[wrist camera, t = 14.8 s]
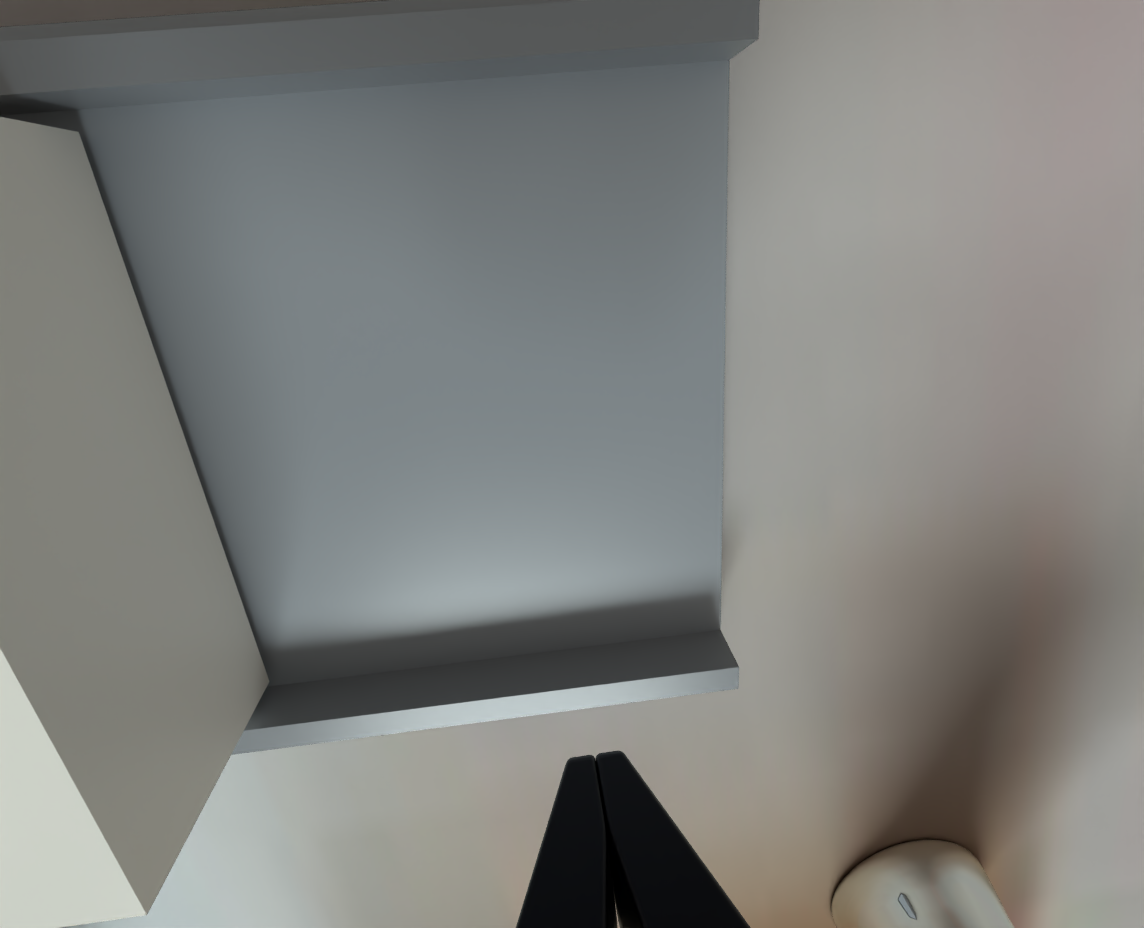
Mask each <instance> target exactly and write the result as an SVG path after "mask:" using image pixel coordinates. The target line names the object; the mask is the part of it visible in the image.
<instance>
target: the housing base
mask: <svg viewBox="0 0 1144 928" xmlns="http://www.w3.org/2000/svg"><path fill="white" fill-rule="evenodd" d="M759 1H760V0H385V1H370V2H356V3H341V4H327V5H312V6H298V7H283V8H268V9H254V10H239V11H225V12H210V13H196V14H181V15H167V16H152V17H138V18H123V19H109V20H94V21H80V22H65V23H51V24H36V25H22V26H7V27H0V117H4V118H9V119H14V120H20V121H25V122H30V123H35V124H40V125H45V126H50V127H56V128H61V129H66V130H71V131H76V132H79V134H80V137H81V140H82V143H83V146H84V149H85V152H86V155H87V157H88V160H89V163H90V166H91V169H92V172H93V175H94V178H95V181H96V183H97V186H98V189H99V192H100V195H101V198H102V201H103V204H104V206H105V209H106V212H107V215H108V218H109V221H110V224H111V227H112V229H113V232H114V235H115V238H116V241H117V244H118V247H119V250H120V253H121V255H122V258H123V261H124V264H125V267H126V270H127V273H128V276H129V278H130V281H131V284H132V287H133V290H134V293H135V296H136V299H137V301H138V304H139V307H140V310H141V313H142V316H143V319H144V322H145V325H146V327H147V330H148V333H149V336H150V339H151V342H152V345H153V348H154V350H155V353H156V356H157V359H158V362H159V365H160V368H161V371H162V373H163V376H164V379H165V382H166V385H167V388H168V391H169V394H170V397H171V399H172V402H173V405H174V408H175V411H176V414H177V417H178V420H179V422H180V425H181V428H182V431H183V434H184V437H185V440H186V443H187V445H188V448H189V451H190V454H191V457H192V460H193V463H194V466H195V469H196V471H197V474H198V477H199V480H200V483H201V486H202V489H203V492H204V494H205V497H206V500H207V503H208V506H209V509H210V512H211V515H212V517H213V520H214V523H215V526H216V529H217V532H218V535H219V538H220V541H221V543H222V546H223V549H224V552H225V555H226V558H227V561H228V564H229V566H230V569H231V572H232V575H233V578H234V581H235V584H236V587H237V589H238V592H239V595H240V598H241V601H242V604H243V607H244V610H245V613H246V615H247V618H248V621H249V624H250V627H251V630H252V633H253V636H254V638H255V641H256V644H257V647H258V650H259V653H260V656H261V659H262V661H263V664H264V667H265V670H266V673H267V676H268V679H269V683H268V685H267V687H266V689H265V691H264V693H263V695H262V697H261V699H260V701H259V702H258V704H257V706H256V708H255V710H254V712H253V714H252V716H251V718H250V720H249V721H248V723H247V725H246V727H245V729H244V731H243V733H242V735H241V737H240V739H239V741H238V742H237V744H236V746H235V748H234V750H233V752H232V754H231V755H233V754H241V753H249V752H256V751H264V750H272V749H279V748H287V747H295V746H302V745H310V744H318V743H325V742H333V741H341V740H348V739H356V738H363V737H371V736H379V735H386V734H394V733H402V732H409V731H417V730H425V729H432V728H440V727H448V726H455V725H463V724H471V723H478V722H486V721H494V720H501V719H509V718H517V717H524V716H532V715H540V714H547V713H555V712H563V711H570V710H578V709H586V708H593V707H601V706H609V705H616V704H624V703H632V702H639V701H647V700H655V699H662V698H670V697H678V696H685V695H693V694H701V693H708V692H716V691H724V690H731V689H738V683H739V666H738V664H737V662H736V660H735V658H734V656H733V654H732V652H731V650H730V648H729V646H728V644H727V642H726V640H725V638H724V636H723V634H722V632H721V630H720V623H721V559H722V494H723V430H724V365H725V301H726V236H727V172H728V107H729V60H730V59H731V58H733V57H734V56H735V55H737V54H738V53H739V52H741V51H742V50H744V49H745V48H746V47H748V46H749V45H750V44H752V43H753V42H755V41H756V40H757V39H758V34H759Z"/></svg>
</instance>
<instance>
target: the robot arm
mask: <svg viewBox="0 0 1144 928" xmlns="http://www.w3.org/2000/svg"><path fill="white" fill-rule="evenodd" d="M615 904H616V907H615ZM616 910H617V915H618V921H619V925H620V928H750V926H749V925H748V923H747V922H746V921H745V919H744V918H743V917H742V915H741V914H740V912H739V911H738V910H737V908H736V907H735V906H734V904H733V903H732V901H731V900H730V899H729V897H728V896H727V895H726V893H725V892H724V890H723V889H722V888H721V886H720V885H719V883H718V882H717V881H716V879H715V878H714V877H713V875H712V874H711V872H710V871H709V870H708V868H707V867H706V866H705V864H704V863H703V861H702V860H701V859H700V857H699V856H698V855H697V853H696V852H695V850H694V849H693V848H692V846H691V845H690V844H689V842H688V841H687V839H686V838H685V837H684V835H683V834H682V832H681V831H680V830H679V828H678V827H677V826H676V824H675V823H674V821H673V820H672V819H671V817H670V816H669V815H668V813H667V812H666V810H665V809H664V808H663V806H662V805H661V804H660V802H659V801H658V799H657V798H656V797H655V795H654V794H653V793H652V791H651V790H650V788H649V787H648V786H647V784H646V783H645V781H644V780H643V779H642V777H641V776H640V775H639V773H638V772H637V770H636V769H635V768H634V766H633V765H632V764H631V762H630V761H629V759H628V758H627V757H626V755H625V754H624V753H623V752H621V751H612V752H606V753H600V754H598V755H597V756H596V761H595V758H594V756H592V755H586V756H580V757H573V758H570V759H569V760H568V761H567V763H566V765H565V769H564V772H563V775H562V779H561V782H560V785H559V788H558V792H557V795H556V798H555V801H554V805H553V808H552V811H551V815H550V818H549V821H548V824H547V828H546V831H545V834H544V837H543V841H542V844H541V847H540V851H539V854H538V857H537V860H536V864H535V867H534V870H533V873H532V877H531V880H530V883H529V887H528V890H527V893H526V896H525V900H524V903H523V906H522V909H521V913H520V916H519V919H518V922H517V926H516V928H617V917H616Z"/></svg>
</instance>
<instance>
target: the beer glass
mask: <svg viewBox="0 0 1144 928" xmlns="http://www.w3.org/2000/svg"><path fill="white" fill-rule="evenodd" d="M831 912H832V917H833V921H834V924H835V926H836V928H1014V926H1013V924H1012V922H1011V921H1010V919H1009V917H1008V915H1007V913H1006V911H1005V909H1004V907H1003V905H1002V903H1001V901H1000V899H999V897H998V895H997V893H996V891H995V889H994V887H993V885H992V883H991V881H990V879H989V878H988V876H987V874H986V872H985V870H984V869H983V867H982V865H981V864H980V862H979V861H978V860H977V858H976V857H975V856H974V855H973V854H972V853H971V852H970V851H968V850H967V849H965V848H964V847H962V846H960V845H957V844H954V843H951V842H947V841H942V840H917V841H911V842H906V843H902V844H898V845H895V846H892V847H889V848H887V849H884V850H882V851H880V852H878V853H876V854H874V855H872V856H870V857H869V858H867V859H865V860H864V861H862V862H861V863H860V864H858V865H857V866H856V867H855V868H853V869H852V870H851V871H850V872H849V873H848V874H847V875H846V876H845V878H844V879H843V880H842V881H841V883H840V884H839V886H838V888H837V890H836V892H835V894H834V897H833V900H832V905H831Z"/></svg>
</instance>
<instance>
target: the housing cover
mask: <svg viewBox="0 0 1144 928" xmlns="http://www.w3.org/2000/svg"><path fill="white" fill-rule="evenodd" d="M268 683H269V679H268V676H267V673H266V670H265V667H264V664H263V661H262V659H261V656H260V653H259V650H258V647H257V644H256V641H255V638H254V636H253V633H252V630H251V627H250V624H249V621H248V618H247V615H246V613H245V610H244V607H243V604H242V601H241V598H240V595H239V592H238V589H237V587H236V584H235V581H234V578H233V575H232V572H231V569H230V566H229V564H228V561H227V558H226V555H225V552H224V549H223V546H222V543H221V541H220V538H219V535H218V532H217V529H216V526H215V523H214V520H213V517H212V515H211V512H210V509H209V506H208V503H207V500H206V497H205V494H204V492H203V489H202V486H201V483H200V480H199V477H198V474H197V471H196V469H195V466H194V463H193V460H192V457H191V454H190V451H189V448H188V445H187V443H186V440H185V437H184V434H183V431H182V428H181V425H180V422H179V420H178V417H177V414H176V411H175V408H174V405H173V402H172V399H171V397H170V394H169V391H168V388H167V385H166V382H165V379H164V376H163V373H162V371H161V368H160V365H159V362H158V359H157V356H156V353H155V350H154V348H153V345H152V342H151V339H150V336H149V333H148V330H147V327H146V325H145V322H144V319H143V316H142V313H141V310H140V307H139V304H138V301H137V299H136V296H135V293H134V290H133V287H132V284H131V281H130V278H129V276H128V273H127V270H126V267H125V264H124V261H123V258H122V255H121V253H120V250H119V247H118V244H117V241H116V238H115V235H114V232H113V229H112V227H111V224H110V221H109V218H108V215H107V212H106V209H105V206H104V204H103V201H102V198H101V195H100V192H99V189H98V186H97V183H96V181H95V178H94V175H93V172H92V169H91V166H90V163H89V160H88V157H87V155H86V152H85V149H84V146H83V143H82V140H81V137H80V134H79V132H76V131H71V130H66V129H61V128H56V127H50V126H45V125H40V124H35V123H30V122H25V121H20V120H14V119H9V118H4V117H0V928H61V927H68V926H75V925H82V924H89V923H96V922H103V921H110V920H117V919H124V918H131V917H138V916H145V915H147V914H148V912H149V910H150V908H151V906H152V904H153V902H154V901H155V899H156V897H157V895H158V893H159V891H160V889H161V887H162V885H163V883H164V882H165V880H166V878H167V876H168V874H169V872H170V870H171V868H172V866H173V864H174V862H175V861H176V859H177V857H178V855H179V853H180V851H181V849H182V847H183V845H184V843H185V842H186V840H187V838H188V836H189V834H190V832H191V830H192V828H193V826H194V824H195V822H196V821H197V819H198V817H199V815H200V813H201V811H202V809H203V807H204V805H205V803H206V802H207V800H208V798H209V796H210V794H211V792H212V790H213V788H214V786H215V784H216V782H217V781H218V779H219V777H220V775H221V773H222V771H223V769H224V767H225V765H226V763H227V762H228V760H229V758H230V756H231V754H232V752H233V750H234V748H235V746H236V744H237V742H238V741H239V739H240V737H241V735H242V733H243V731H244V729H245V727H246V725H247V723H248V721H249V720H250V718H251V716H252V714H253V712H254V710H255V708H256V706H257V704H258V702H259V701H260V699H261V697H262V695H263V693H264V691H265V689H266V687H267V685H268Z"/></svg>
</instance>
